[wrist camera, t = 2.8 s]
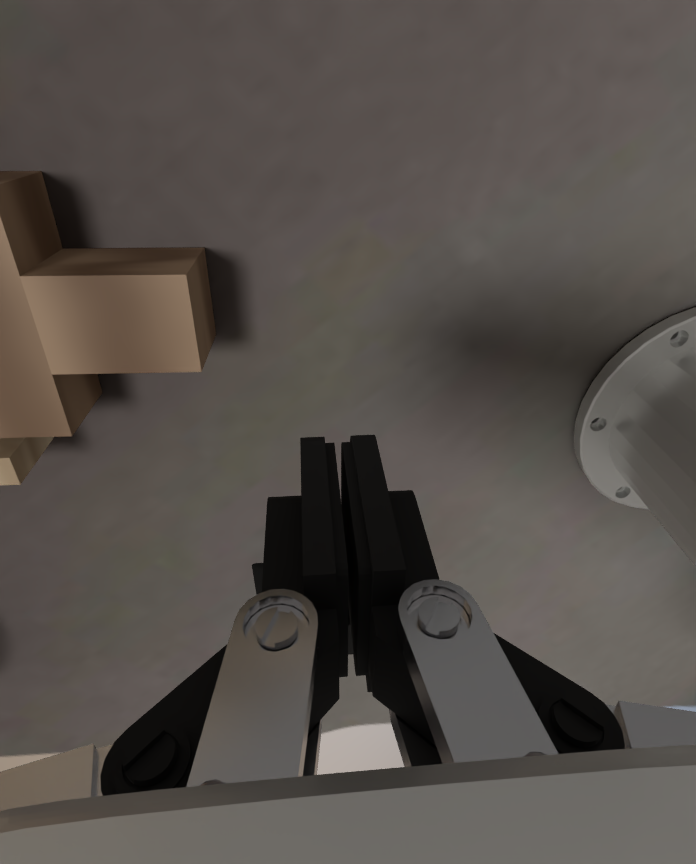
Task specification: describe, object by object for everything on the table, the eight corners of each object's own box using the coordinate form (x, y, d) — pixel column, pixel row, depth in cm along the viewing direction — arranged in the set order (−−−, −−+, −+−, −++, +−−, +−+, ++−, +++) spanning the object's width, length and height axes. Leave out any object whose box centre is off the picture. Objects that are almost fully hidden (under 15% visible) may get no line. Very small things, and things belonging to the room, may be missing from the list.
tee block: (194, 171, 22) (172, 186, 18) (223, 389, 27) (211, 432, 24) (-63, 171, 21) (-134, 187, 18) (19, 394, 26) (-23, 438, 23)
